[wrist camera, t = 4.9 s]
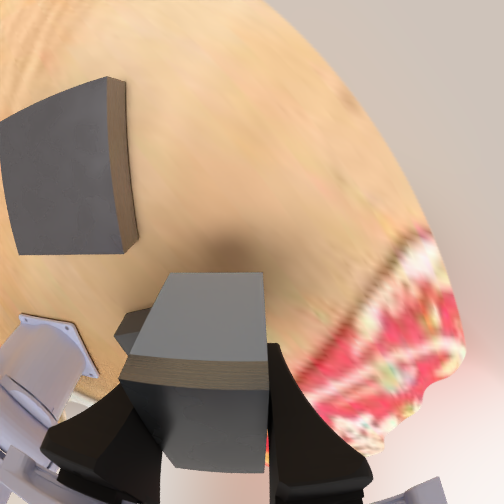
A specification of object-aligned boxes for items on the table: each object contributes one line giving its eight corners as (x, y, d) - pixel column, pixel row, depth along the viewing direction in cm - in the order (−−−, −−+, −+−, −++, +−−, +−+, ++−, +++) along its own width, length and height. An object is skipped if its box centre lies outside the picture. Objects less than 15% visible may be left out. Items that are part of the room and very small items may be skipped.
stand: (35, 243, 18) (19, 255, 16) (18, 120, 14) (-2, 123, 11) (138, 238, 18) (124, 253, 16) (125, 81, 13) (106, 76, 11)
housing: (192, 377, 14) (175, 467, 9) (170, 272, 12) (118, 378, 6) (261, 378, 14) (264, 473, 9) (262, 272, 11) (269, 389, 6)
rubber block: (148, 346, 23) (139, 370, 20) (126, 313, 21) (113, 335, 18) (186, 340, 22) (179, 365, 19) (165, 304, 21) (154, 328, 18)
